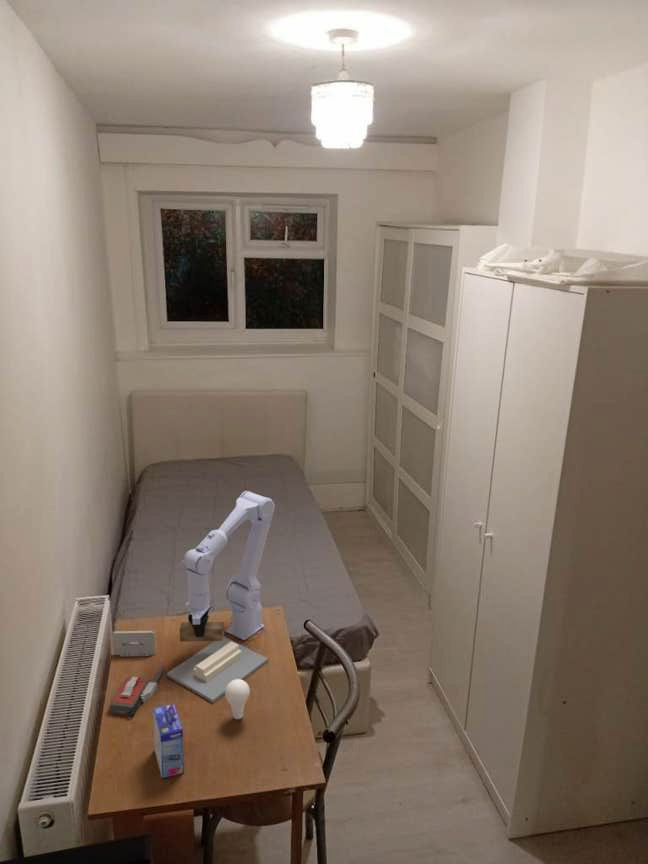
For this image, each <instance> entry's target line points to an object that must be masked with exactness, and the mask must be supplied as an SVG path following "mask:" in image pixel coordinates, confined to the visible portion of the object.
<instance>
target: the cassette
mask: <svg viewBox="0 0 648 864" xmlns="http://www.w3.org/2000/svg"><path fill="white" fill-rule="evenodd" d="M155 634H156V633H155V631H154V630H129V631H128V630H127V631H126V630H125V631H123V630H121V631H117V630H116V631H115V630H114V631H113V632H112V634H111V638H112V649H113V656H114V655H120V656H119V657H148V656H155V655H156V654H157V650H156V637H155Z"/></svg>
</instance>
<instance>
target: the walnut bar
mask: <svg viewBox="0 0 648 864" xmlns="http://www.w3.org/2000/svg"><path fill="white" fill-rule="evenodd" d="M224 627H225V626H224V621H207V622H206V625H205V632H204V636H203V637H196V635H195V632H194V629H193V626H192V625H191V623H190V622H189V621H185V622H183V621H182V622H181V623H180V626H179V642H181V643H182V642H183V643H184V642H215V641H223V636H224V635H225V633H224Z"/></svg>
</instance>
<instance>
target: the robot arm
mask: <svg viewBox="0 0 648 864" xmlns="http://www.w3.org/2000/svg"><path fill="white" fill-rule="evenodd" d="M275 509H276V505H275V503H274V501H273V500H272V498H270V497H266V496H262V495H260V494H256V493H254V492H252V491H249V490H244V491H243V492H242V493H241V494H240V495H239V497H238V498H236V501H235V507H234V508H233V510H232V511H231V512H230V514H229V515H228V517H226V519H225V520H224V522H223V523H222V524H221V525H220V527H219V528H218V529H213V530H211V531H210V532H208V534H207V535H206V536H205V537H204V539H203V540H202V541H201V542H200V543H199V544H198V545H197V546H196V547H195V548H192V549H190V550H188V551H187V552H186V553H185V555H184V557H183V560H182V561H181V562H182V566H183V568H185V571H186V574H187V584H188V585H187V586H188V588H187V589H188V601H187V602H186V603H185V605H184V608H185V609H189V612H190V614H188V617H187V621H188V622H190V623H191V625H192V626H193V629H194V632H195V635H196V637H203V636H204V632H205V625H206V622H209V621H208V620H209V617H210V615H209V611H210V610H211V608H212V603H211V600H210V582H209V580H210V579H209V578H210V577H209V571H210V570H211V569H212V568H213V567H212V566H213V564H214V562H215V559H216V556H217V555H219V553H220V552H221V551H222V550H223V549H224V548H225V547H226V546H227V543H228V537H229V536H230V535H231V534H232V533H233V532H234V531H235V530H237V528H238V527H240V526H241V525H242V524H243V523H244V522H245V521H250V522H251V527H250V530H249V535H248V538H247V542H246V546H245V549H244V552H243V556H242V561H241V562H240V563H241V564H240V567H239V570H238V573H237V574H235V575H232V576H231V577H230V581H229V582H228V584H227V586H226V589H225V593H224V595H225V599H226V600H228V602H229V605H230V611H231V612H230V613H231V614H230V615H231V626H229V627H228V628H227V629H225V632H226V633H229V634H230V635H232V636H234V637H236V638H238V639H241V640H242V641H246V640H248V638H250V637H252V636H253V635H255V634H256V633H257V632H259V631H261V630H262V629H264V627H265V625H264V623H263V606H262V604H261V602H260V600H261V589H262V585H261V583H260V582H259V580H258V578H257V575H258V571H259V567H260V564H261V559H262V556H263V552H264V548H265V545H266V542H267V538H268V534H269V531H270V527H271V523H272V520H273V516H274V512H275Z"/></svg>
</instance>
